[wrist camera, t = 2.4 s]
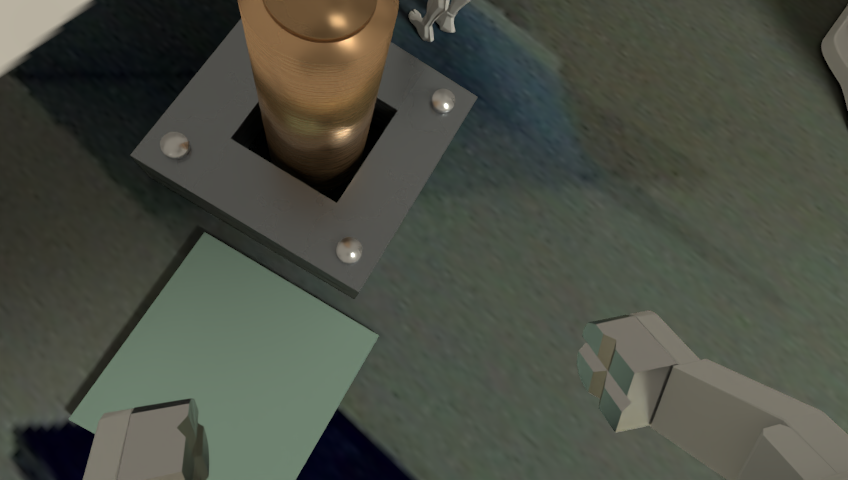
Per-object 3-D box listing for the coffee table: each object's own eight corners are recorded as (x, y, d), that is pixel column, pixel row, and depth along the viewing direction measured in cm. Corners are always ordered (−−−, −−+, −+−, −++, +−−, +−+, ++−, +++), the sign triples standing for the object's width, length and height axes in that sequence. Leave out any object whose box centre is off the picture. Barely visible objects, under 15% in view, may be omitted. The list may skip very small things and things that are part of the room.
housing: (282, 7, 31) (278, -35, 28) (462, 120, 32) (479, 93, 28) (148, 176, 27) (127, 152, 24) (354, 299, 28) (359, 291, 25)
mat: (206, 234, 27) (204, 231, 27) (377, 336, 28) (379, 335, 27) (74, 417, 25) (68, 419, 24) (267, 526, 25) (266, 530, 25)
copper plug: (301, 87, 30) (294, -113, 17) (379, 135, 30) (428, -27, 18) (249, 158, 29) (199, -3, 16) (331, 208, 29) (347, 89, 16)
